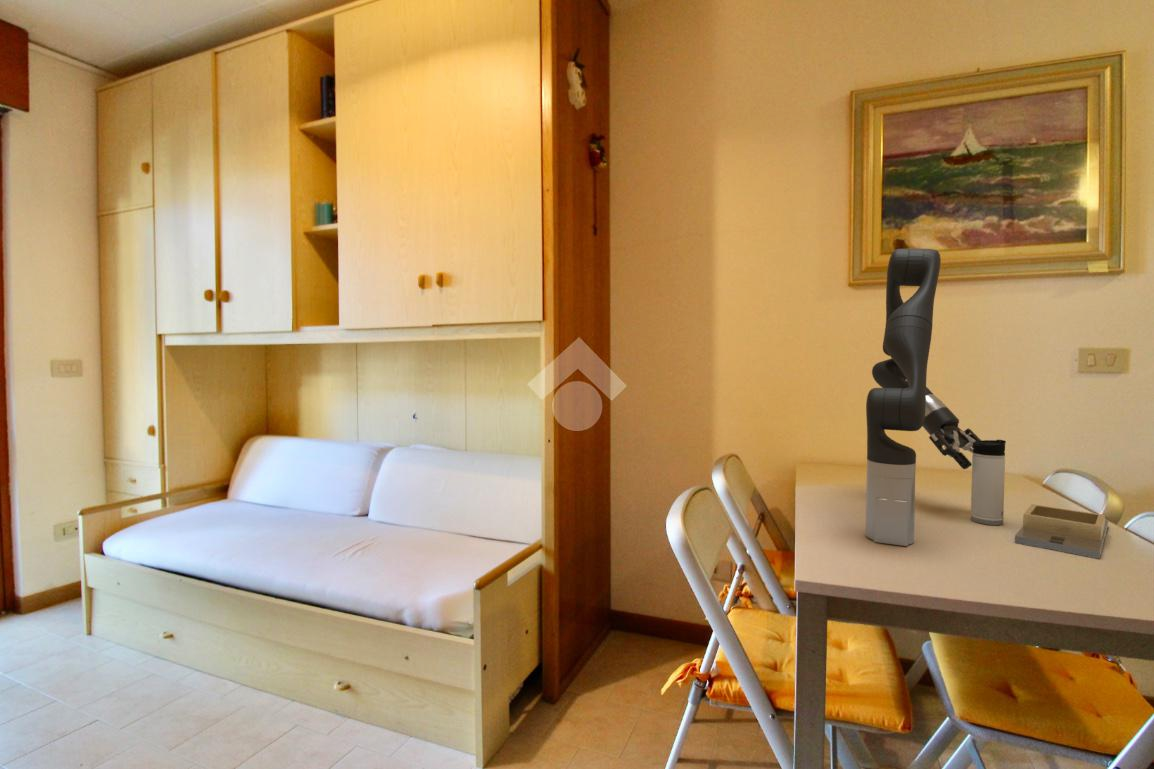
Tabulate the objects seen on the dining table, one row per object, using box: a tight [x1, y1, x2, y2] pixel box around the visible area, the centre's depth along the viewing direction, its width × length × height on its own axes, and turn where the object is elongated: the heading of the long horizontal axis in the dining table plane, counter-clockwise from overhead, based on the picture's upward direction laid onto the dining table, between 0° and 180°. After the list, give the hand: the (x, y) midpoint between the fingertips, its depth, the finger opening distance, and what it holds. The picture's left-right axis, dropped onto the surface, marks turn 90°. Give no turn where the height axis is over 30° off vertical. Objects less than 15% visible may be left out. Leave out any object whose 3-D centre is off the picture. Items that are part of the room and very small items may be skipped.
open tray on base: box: [1014, 503, 1109, 560], centre depth 119 cm, size 30×13×4 cm, turn 133°
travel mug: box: [970, 439, 1007, 526], centre depth 128 cm, size 6×7×20 cm
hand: (979, 465), depth 130 cm, fingers open, 8 cm apart
